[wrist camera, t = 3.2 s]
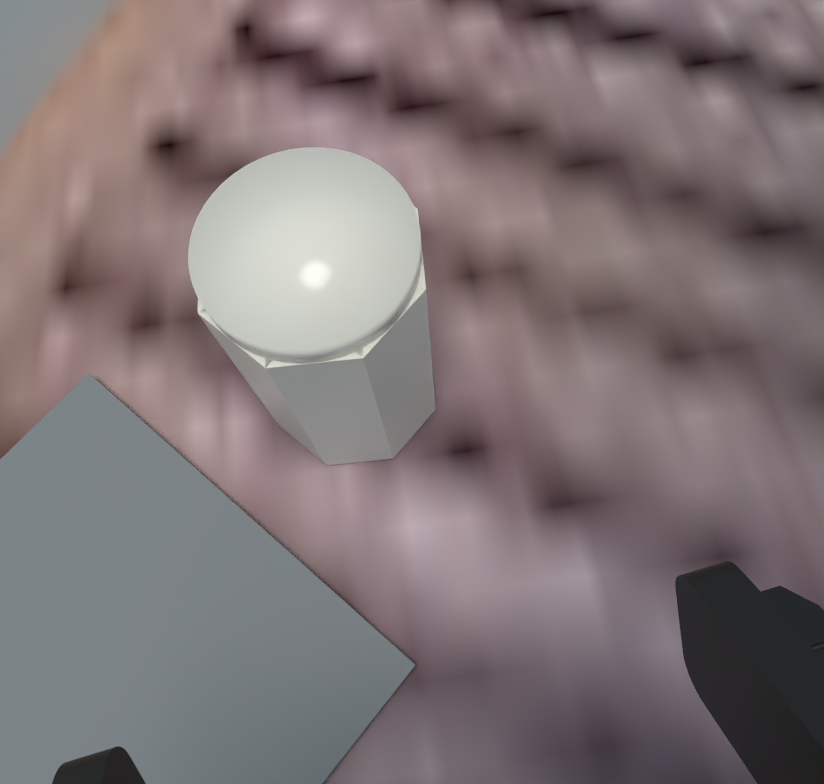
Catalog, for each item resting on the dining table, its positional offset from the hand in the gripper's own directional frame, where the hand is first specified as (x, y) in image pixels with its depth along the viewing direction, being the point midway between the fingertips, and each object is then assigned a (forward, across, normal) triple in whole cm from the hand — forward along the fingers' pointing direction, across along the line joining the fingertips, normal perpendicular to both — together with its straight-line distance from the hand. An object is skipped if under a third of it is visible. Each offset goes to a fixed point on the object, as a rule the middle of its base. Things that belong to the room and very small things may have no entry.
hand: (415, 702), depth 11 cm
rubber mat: (+12, +12, +8) cm, 19 cm away
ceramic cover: (+18, 0, +3) cm, 18 cm away
